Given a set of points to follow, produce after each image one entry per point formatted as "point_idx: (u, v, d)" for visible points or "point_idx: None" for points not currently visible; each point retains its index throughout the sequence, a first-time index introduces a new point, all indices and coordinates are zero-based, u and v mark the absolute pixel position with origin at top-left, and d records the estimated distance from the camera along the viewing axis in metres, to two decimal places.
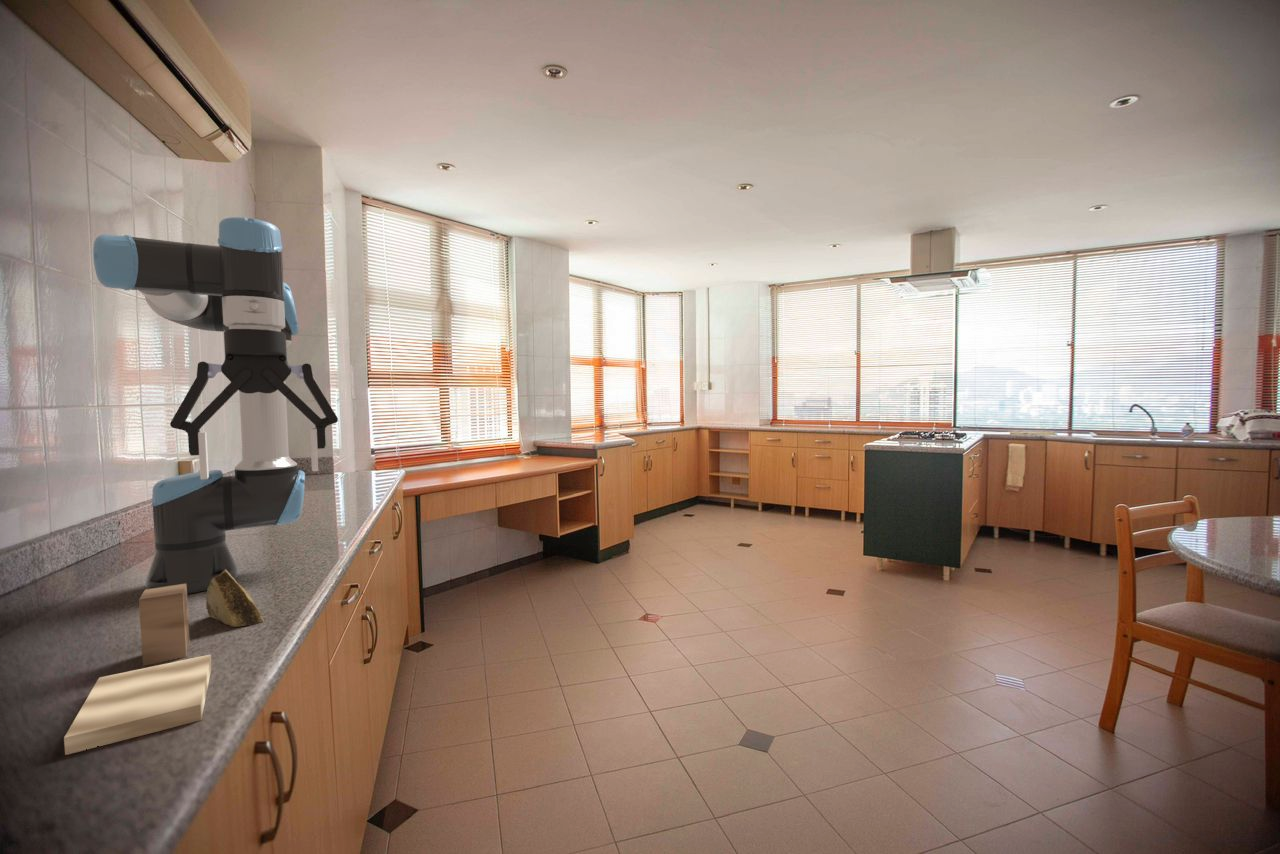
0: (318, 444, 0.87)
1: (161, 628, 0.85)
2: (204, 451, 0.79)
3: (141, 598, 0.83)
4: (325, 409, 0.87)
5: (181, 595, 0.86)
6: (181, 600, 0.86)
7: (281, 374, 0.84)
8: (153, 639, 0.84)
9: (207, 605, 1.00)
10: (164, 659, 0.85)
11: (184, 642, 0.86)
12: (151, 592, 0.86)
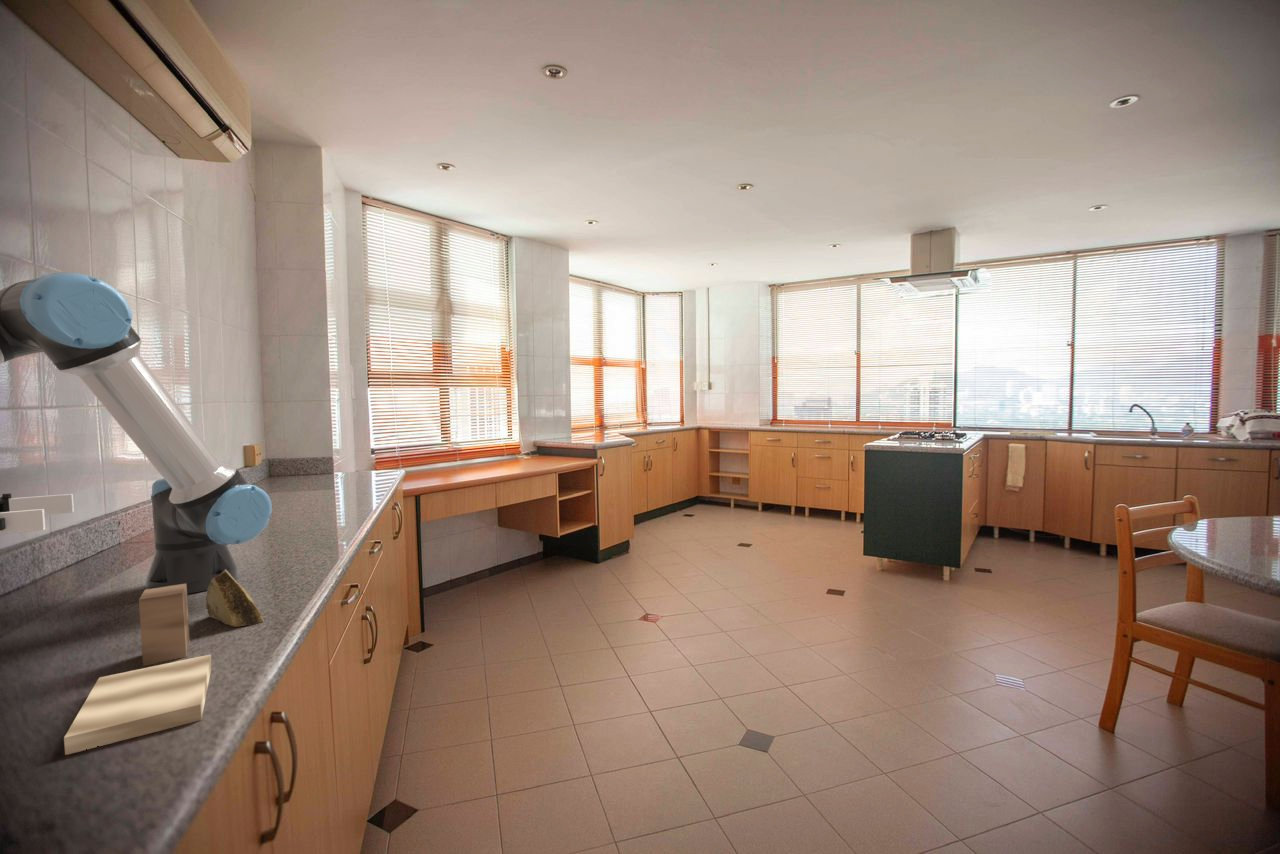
0: None
1: (161, 628, 0.85)
2: None
3: (141, 598, 0.83)
4: None
5: (181, 595, 0.86)
6: (181, 600, 0.86)
7: None
8: (153, 639, 0.84)
9: (207, 605, 1.00)
10: (164, 659, 0.85)
11: (184, 642, 0.86)
12: (151, 592, 0.86)
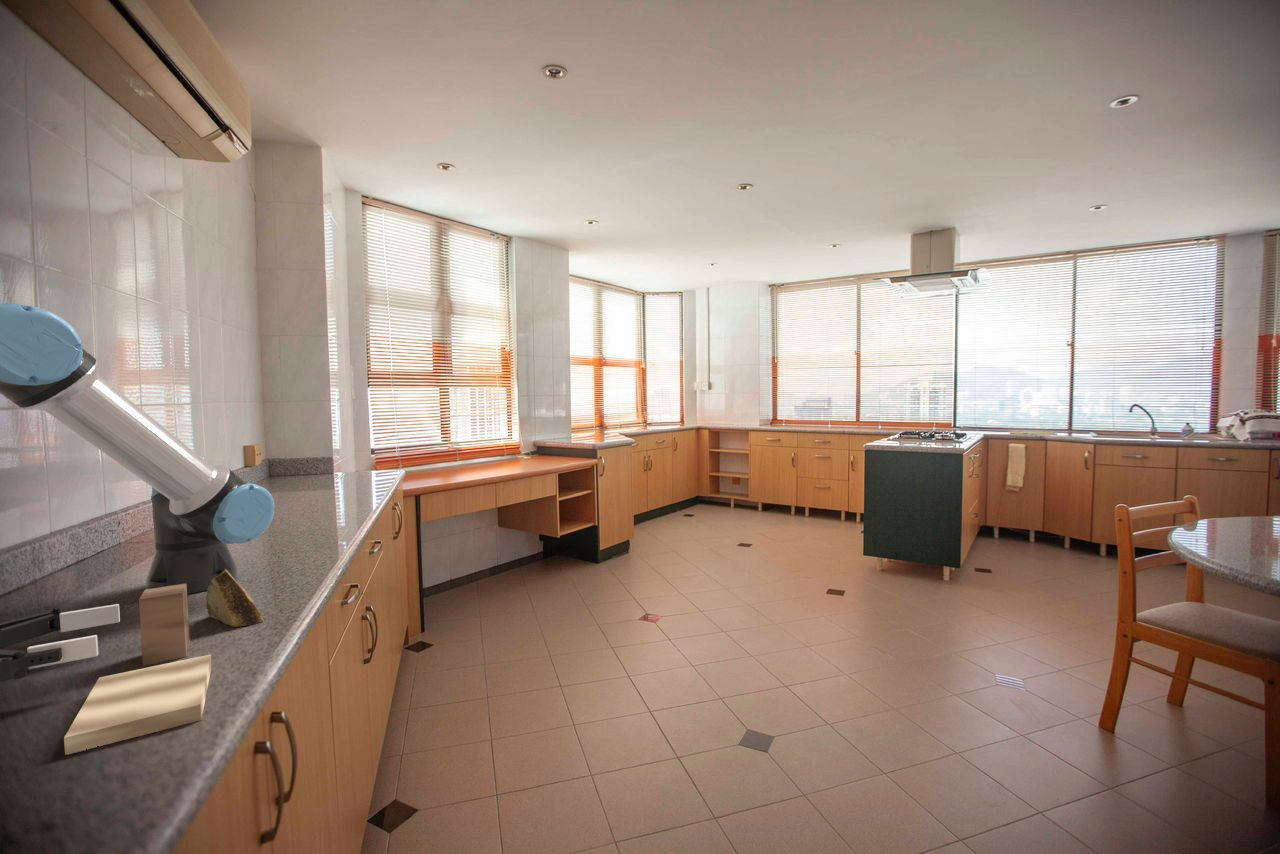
0: None
1: (161, 628, 0.85)
2: (85, 627, 0.86)
3: (141, 598, 0.83)
4: None
5: (181, 595, 0.86)
6: (181, 600, 0.86)
7: None
8: (153, 639, 0.84)
9: (207, 605, 1.00)
10: (164, 659, 0.85)
11: (184, 642, 0.86)
12: (151, 592, 0.86)
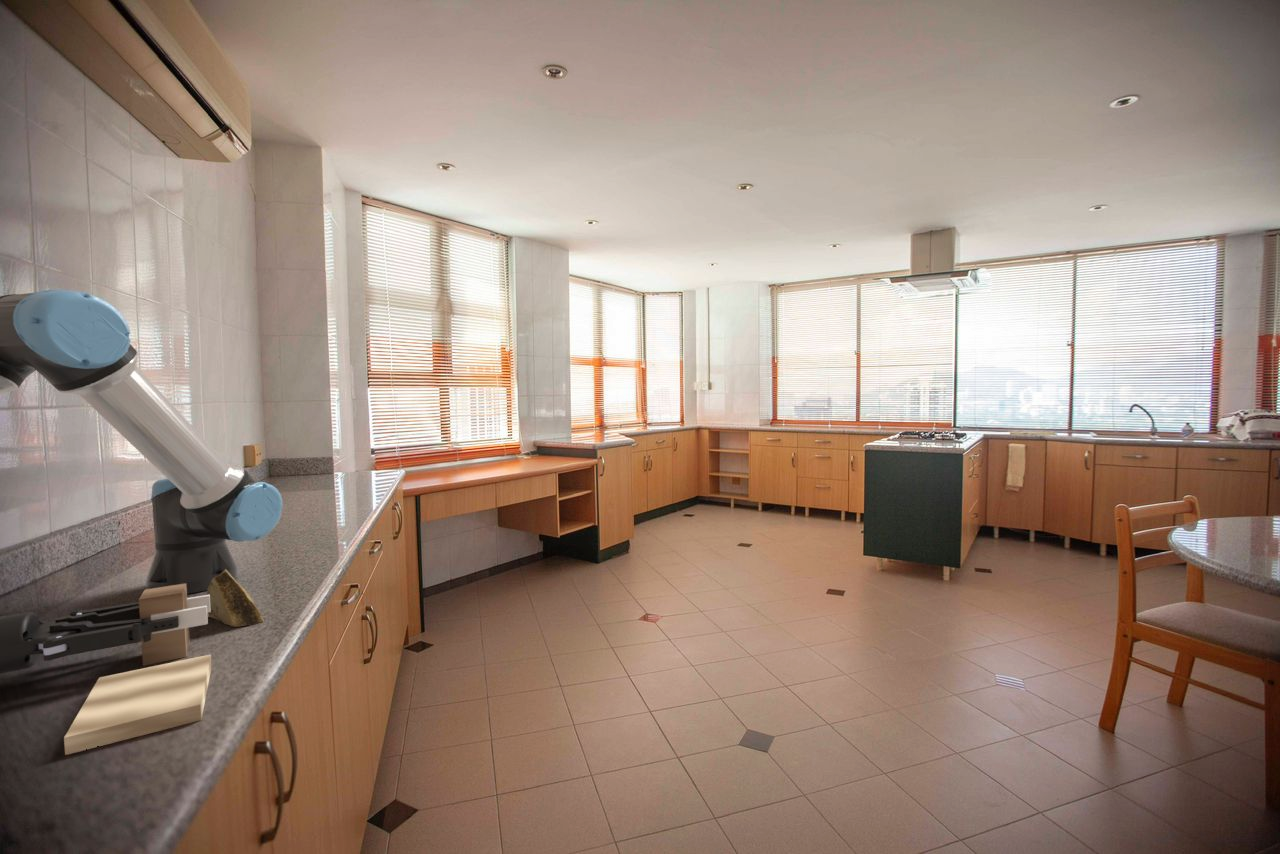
0: None
1: None
2: None
3: (141, 598, 0.83)
4: None
5: (181, 595, 0.86)
6: (181, 600, 0.86)
7: None
8: (153, 639, 0.84)
9: None
10: (164, 659, 0.85)
11: (184, 642, 0.86)
12: (151, 592, 0.86)
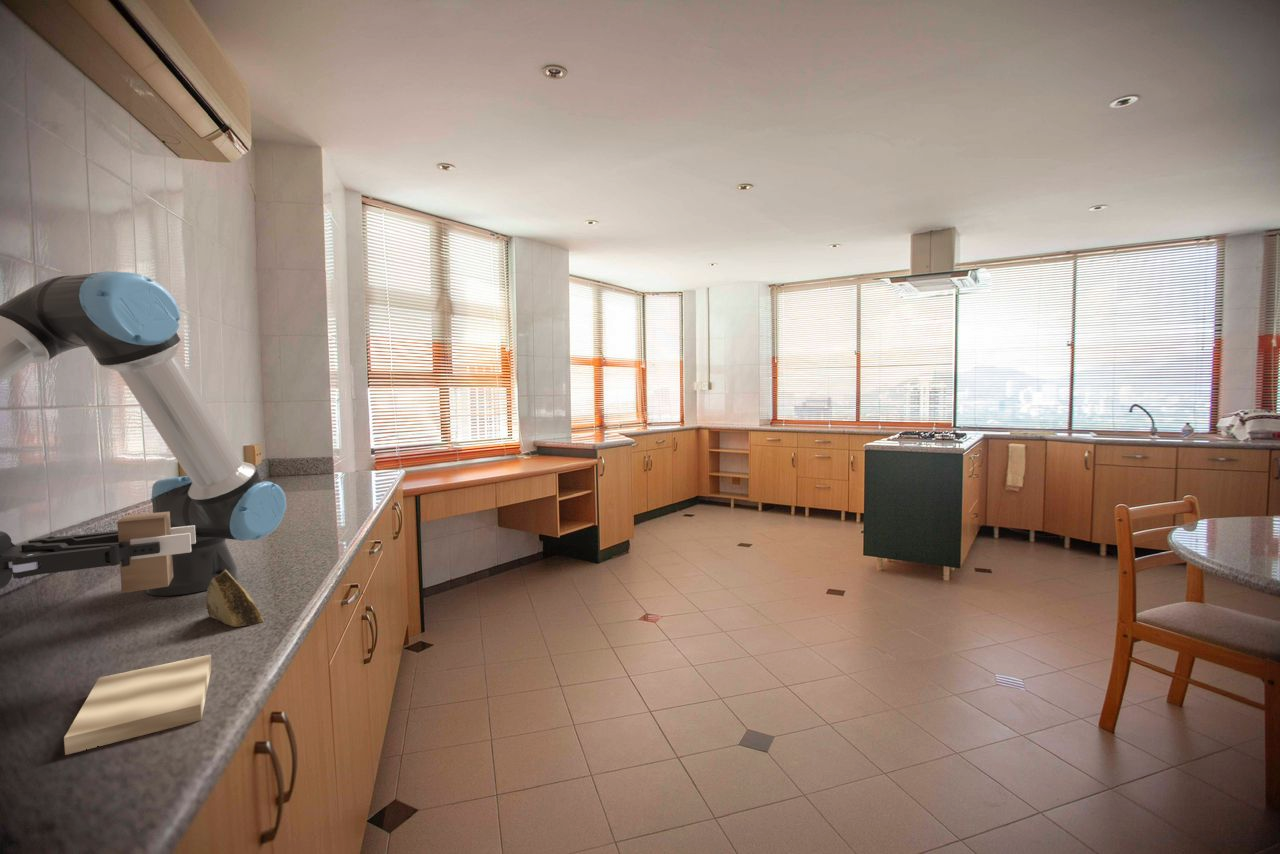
0: None
1: None
2: None
3: (120, 521, 0.79)
4: None
5: (163, 520, 0.81)
6: (163, 525, 0.81)
7: None
8: (133, 565, 0.79)
9: (207, 605, 1.00)
10: (144, 587, 0.80)
11: (166, 570, 0.81)
12: (131, 517, 0.81)
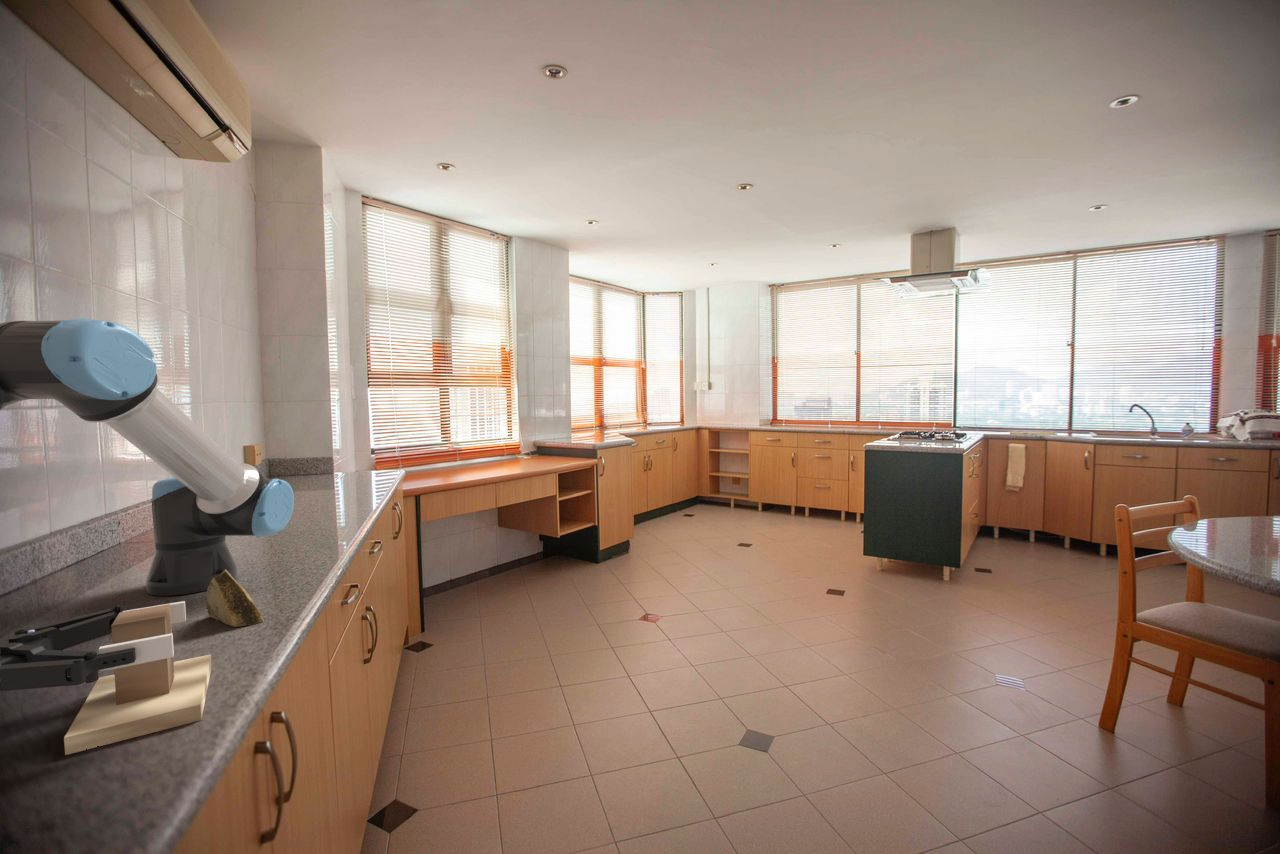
0: None
1: None
2: None
3: (114, 624, 0.69)
4: None
5: (163, 619, 0.71)
6: (163, 625, 0.71)
7: None
8: (129, 673, 0.70)
9: (207, 605, 1.00)
10: (142, 696, 0.71)
11: (167, 675, 0.72)
12: (127, 616, 0.72)
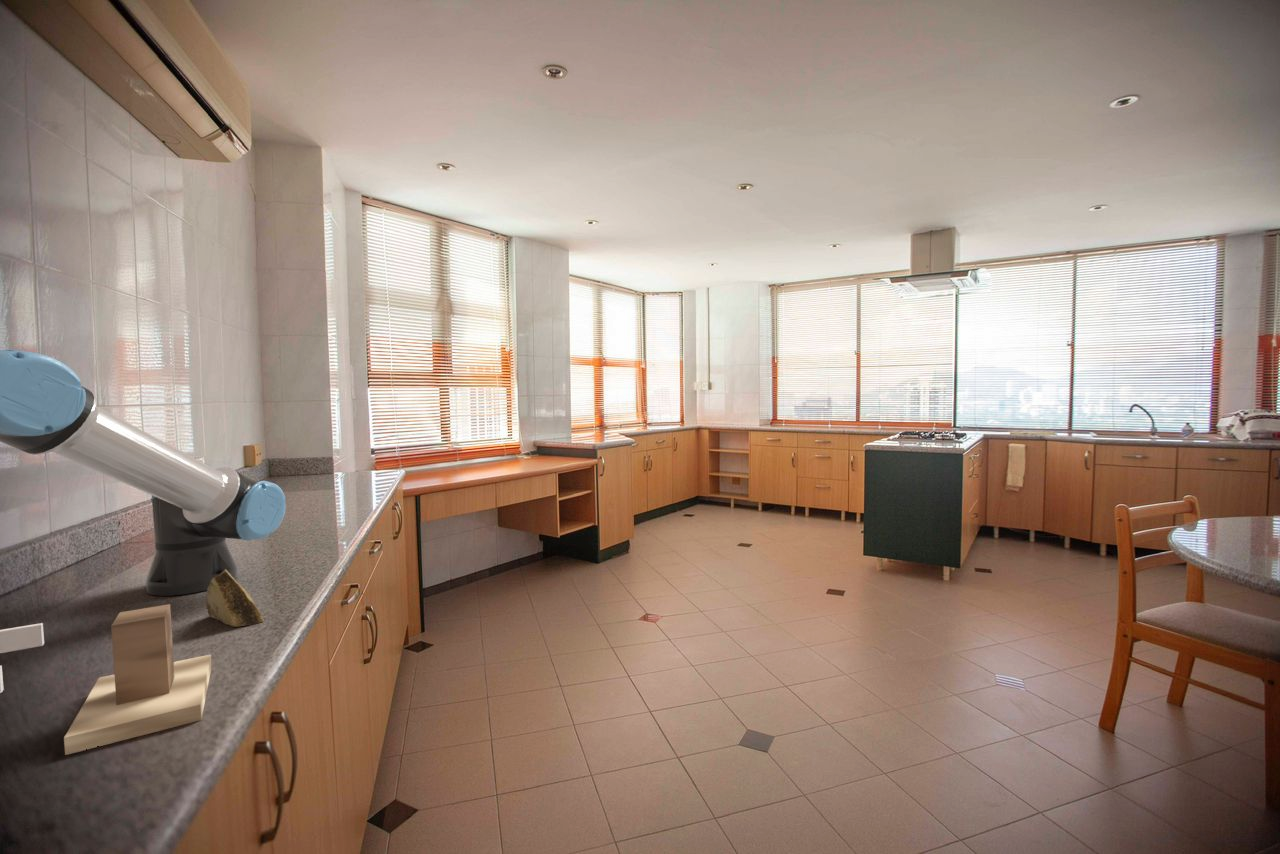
0: None
1: (139, 659, 0.70)
2: None
3: (114, 624, 0.69)
4: None
5: (163, 619, 0.71)
6: (163, 625, 0.71)
7: None
8: (129, 673, 0.70)
9: (207, 605, 1.00)
10: (142, 696, 0.71)
11: (167, 675, 0.72)
12: (127, 616, 0.72)
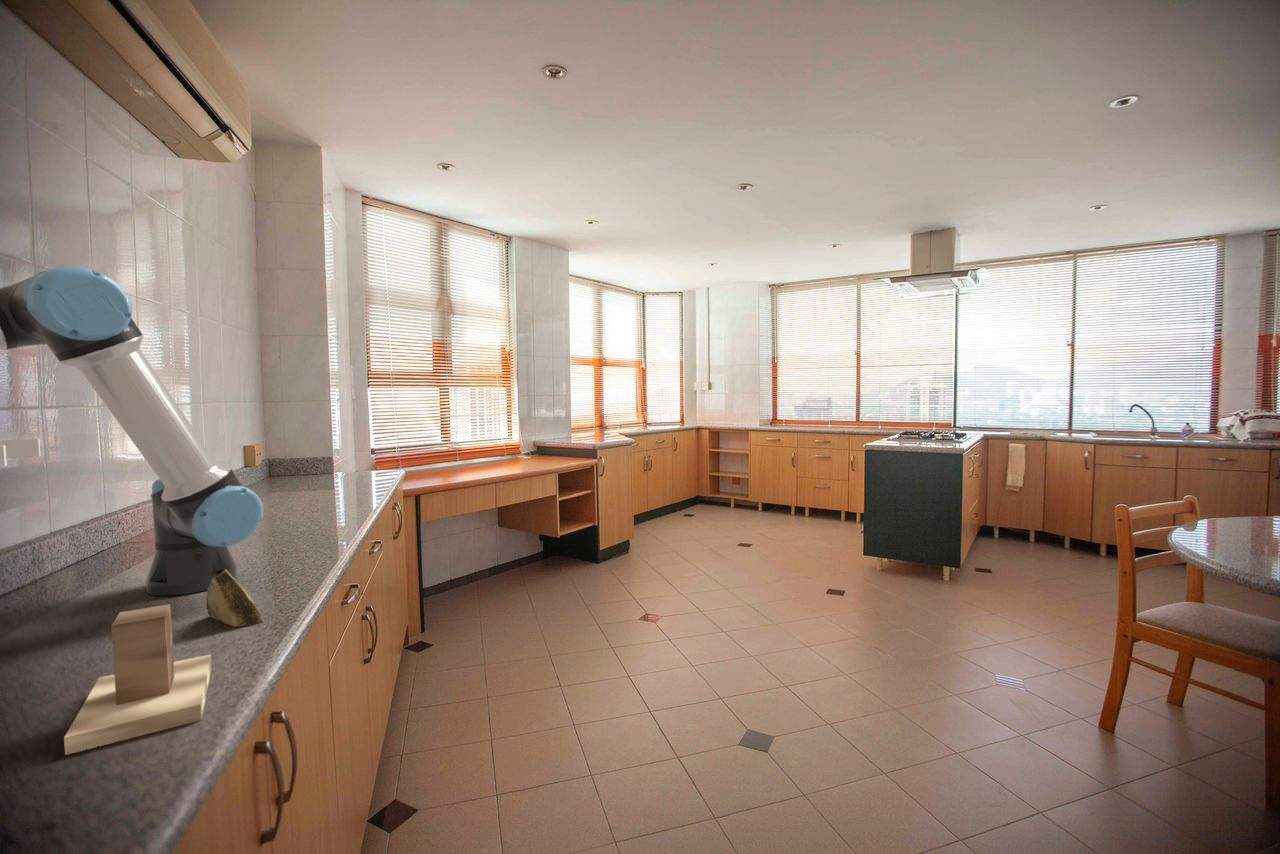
0: None
1: (139, 659, 0.70)
2: None
3: (114, 624, 0.69)
4: None
5: (163, 619, 0.71)
6: (163, 625, 0.71)
7: None
8: (129, 673, 0.70)
9: (207, 605, 1.00)
10: (142, 696, 0.71)
11: (167, 675, 0.72)
12: (127, 616, 0.72)
